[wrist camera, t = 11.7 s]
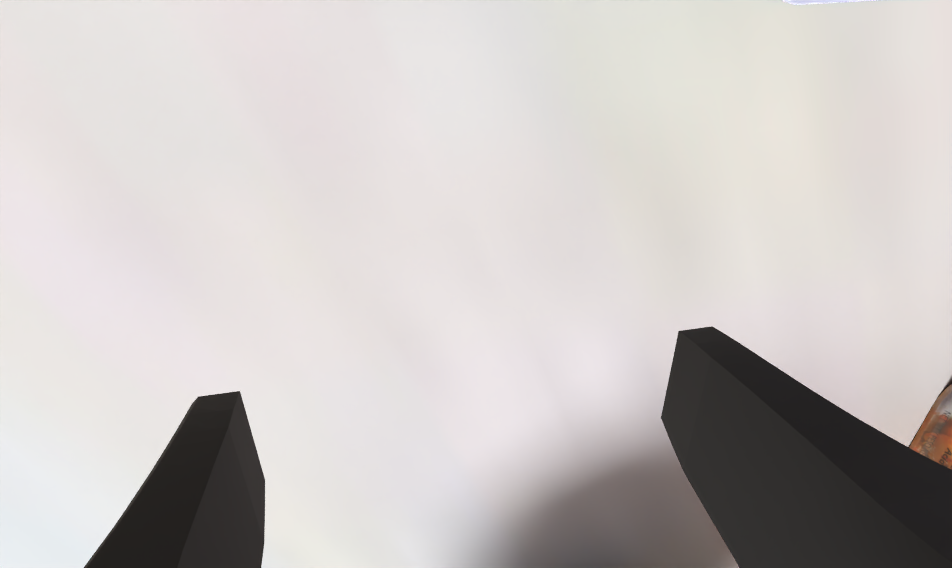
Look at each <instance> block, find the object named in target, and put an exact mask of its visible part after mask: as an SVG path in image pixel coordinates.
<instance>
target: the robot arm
mask: <svg viewBox="0 0 952 568" xmlns="http://www.w3.org/2000/svg"><path fill="white" fill-rule="evenodd" d="M782 1H784V2H786V3H789V4H794V5H803V4H821V3H839V2H856V1H874V0H782ZM661 419H662V421H663V424H664V426H665V429H666V431H667V434H668V436H669V439H670V441H671V443H672V446H673V448H674V451H675V453H676V455H677V457H678V460H679V462H680V464H681V466H682V469H683V471H684V473H685V474H686V476H687V478H688V480H689V482H690V483H691V485H692V487H693V489H694V490H695V492H696V494H697V495H698V497H699V499H700V501H701V502H702V504H703V506H704V508H705V509H706V511H707V513H708V514H709V516H710V518H711V519H712V521H713V523H714V525H715V526H716V528H717V530H718V531H719V533H720V535H721V536H722V538H723V540H724V542H725V543H726V545H727V547H728V548H729V550H730V552H731V553H732V555H733V557H734V558H735V560H736V562H737V564H738V565H739V567H740V568H952V470H951V469H949V468H947V467H945V466H943V465H941V464H939V463H937V462H935V461H933V460H931V459H929V458H927V457H925V456H923V455H922V454H920V453H918V452H916V451H914V450H912V449H910V448H908V447H907V446H905V445H903V444H901V443H899V442H898V441H896V440H894V439H892V438H891V437H889V436H887V435H885V434H884V433H882V432H880V431H878V430H877V429H875V428H873V427H871V426H870V425H868V424H866V423H864V422H863V421H861V420H859V419H857V418H856V417H854V416H853V415H851V414H849V413H848V412H846V411H844V410H843V409H841V408H839V407H838V406H836V405H834V404H833V403H831V402H830V401H828V400H826V399H825V398H823V397H822V396H820V395H818V394H817V393H815V392H814V391H812V390H811V389H809V388H807V387H806V386H804V385H803V384H801V383H800V382H798V381H796V380H795V379H793V378H792V377H790V376H789V375H787V374H786V373H784V372H783V371H781V370H780V369H778V368H777V367H775V366H773V365H772V364H770V363H769V362H767V361H766V360H764V359H763V358H761V357H760V356H758V355H757V354H755V353H754V352H752V351H751V350H749V349H748V348H746V347H744V346H743V345H741V344H740V343H738V342H737V341H735V340H734V339H732V338H730V337H729V336H727V335H726V334H724V333H722V332H721V331H719V330H717V329H715V328H714V327H705V328H698V329H691V330H683V331H679V333H678V338H677V342H676V347H675V352H674V357H673V362H672V367H671V372H670V377H669V382H668V387H667V391H666V396H665V401H664V406H663V411H662V416H661ZM264 524H265V479H264V475H263V472H262V468H261V465H260V461H259V458H258V454H257V450H256V447H255V443H254V440H253V436H252V433H251V429H250V426H249V422H248V419H247V415H246V411H245V408H244V404H243V401H242V397H241V394H240V391H237V392H230V393H223V394H215V395H208V396H201V397H198V398H197V399H196V400H195V401H194V402H193V403H192V405H191V407H190V408H189V410H188V412H187V414H186V415H185V417H184V419H183V420H182V422H181V424H180V425H179V427H178V429H177V430H176V432H175V434H174V435H173V437H172V439H171V440H170V442H169V444H168V445H167V447H166V449H165V450H164V452H163V453H162V455H161V457H160V458H159V460H158V461H157V463H156V465H155V466H154V468H153V469H152V471H151V472H150V474H149V476H148V477H147V479H146V480H145V482H144V483H143V485H142V486H141V488H140V489H139V491H138V492H137V494H136V495H135V497H134V498H133V500H132V501H131V503H130V504H129V506H128V507H127V509H126V510H125V512H124V513H123V515H122V516H121V517H120V519H119V520H118V522H117V523H116V525H115V526H114V527H113V529H112V530H111V532H110V533H109V534H108V536H107V537H106V538H105V540H104V541H103V542H102V544H101V545H100V546H99V548H98V549H97V551H96V552H95V553H94V555H93V556H92V557H91V559H90V560H89V561H88V563H87V564H86V565H85V567H84V568H261V564H262V556H263V548H264Z"/></svg>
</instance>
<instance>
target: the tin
mask: <svg viewBox="0 0 952 568" xmlns="http://www.w3.org/2000/svg"><path fill="white" fill-rule="evenodd" d="M909 448H910V449H912V450H914V451H916V452H918V453H920V454H922V455H923V456H925V457H927V458H929V459H931V460H933V461H935V462H937V463H939V464H941V465H943V466H945V467H947V468H949V469H951V470H952V384H951V385H950V386H948V387H947V388H946V389H945V390H944V391H943V392H942V393H941V394H940V395H939V397H938V398H937V400H936V401H935V403H934V404H933V406H932V408H931V409H930V411H929V413H928V415H927V417H926V418H925V420H924V422H923V423H922V425H921V427H920V429H919V431H918V432H917V434H916V436H915V438H914V439H913V441H912V443H911V445H910V447H909Z"/></svg>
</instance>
